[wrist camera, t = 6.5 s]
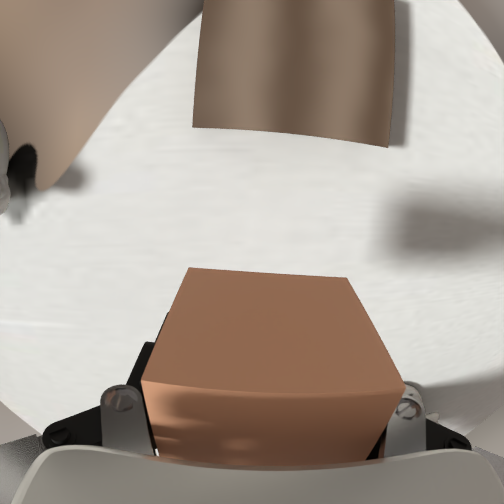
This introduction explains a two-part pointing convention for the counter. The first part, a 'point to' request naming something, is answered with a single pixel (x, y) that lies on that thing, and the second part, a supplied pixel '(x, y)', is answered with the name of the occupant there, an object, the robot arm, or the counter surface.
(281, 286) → the terracotta cube
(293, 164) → the counter surface
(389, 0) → the walnut base
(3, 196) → the teacup
